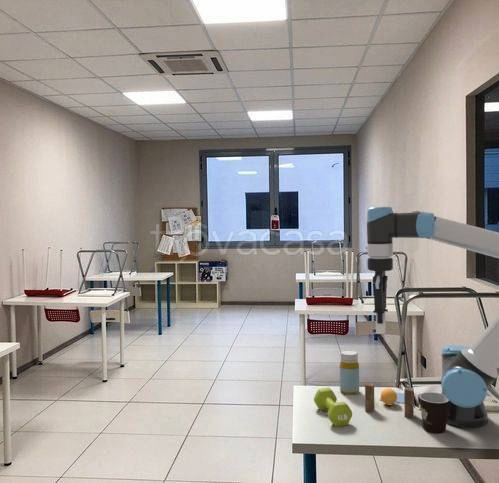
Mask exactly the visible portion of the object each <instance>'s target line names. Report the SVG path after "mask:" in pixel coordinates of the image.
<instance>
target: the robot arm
mask: <svg viewBox="0 0 499 483" xmlns="http://www.w3.org/2000/svg"><path fill="white" fill-rule="evenodd" d="M366 216H367V217H366V237H367V241H366V242H367V246H365V250H367V256H368V257H367V259H366V260H367V261H366V262H367V270H368V271H371V272H374V276H372V288H373V303H374V310H372V311H373V312H372V313H374V314H375V334H379V335H380V334H381V335H385V334H386V333H387V331H386V330H387V328H386V326H387V324H386V312H387V313H388V310H389V309H387V288H388V285H387V284H388V277H389V276H388V275H387V274H386V272H390V271H392V270H393V268H394V263H393V262H394V260H393V258H392V257H393V256H394V244H393V243H394V241H393V239H394V238H395V239H398V238H399V239H400V238H401V239H402V238H403V239H405V238H406V239H407V238H408V239H409V238H410V239H415V238H416V239H418V238H419V239H429V240H432V241H435V242H439V243H442V244H446V245H450V246H452V247H453V246H454V247H456V248H460V249H464V250H467V251H470V252H474V253H478V254H481V255H484V256H489V257H492V258H497V259H499V232H497V231H493V230H491V229H487V228H482V227H478V226H474V225H470V224H466V223H464V222H459V221H455V220H451V219H448V218H443V217H441V216H437V215H436V216H435V214H434V213H433V212H430V211H429V212H425V211H419V210H416V211H411V212H394V211H393V208H392V206H371V207H369V208H368V209H367V214H366ZM440 354H441V380H440V384H441V394H444V395H445V396H446V397H447V399H448V400H449V407H448V415H447V423H446V424H448V425H450V426H451V425H452V426H454V427H455V426H456V427H460V428H469V429H470V428H471V429H472V428H479V427H483V426H486V424H487V423H488V419H489V416H488V411H487V408H486V406H485V403H484V401H485V399H486V397H487V394H488V389H489V388H490V387H491V386H492V385H493V383H494V382H495V381H496V380H497V379H498V377H499V374H498V373H499V372H498V368H499V313H497V315H496V316H495V317H494V318H493V319H492V321H491V322H490V323H489V325H488V326H487V327H486V328H485V330H484V331H483V332H482V333H481V335H480V336H478V338H477V339H476V340H475V342H474V343H473V344H472V345H471V346H467V345H446V346H443V347H442V349H441V353H440Z"/></svg>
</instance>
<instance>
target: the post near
mask: <svg viewBox="0 0 499 483" xmlns="http://www.w3.org/2000/svg"><path fill="white" fill-rule="evenodd" d="M403 389H404V392H403V393H404V405H403V406H404V417H405V418H409V419H410V418H411V419H413V418H414V415H415V413H414V412H415V411H414V408H415V407H414V404H415V403H414V397H415V396H414V390H415V389H414V387H408V386H405V387H404V388H403Z"/></svg>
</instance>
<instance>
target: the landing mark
mask: <svg viewBox="0 0 499 483" xmlns="http://www.w3.org/2000/svg"><path fill="white" fill-rule="evenodd" d="M395 392H396V391H395ZM396 394H397V400H396V402H395V403H394V404H396V403H397V404H404V392H396ZM379 401H381V402H383V401H382V400H381V397H380V398H379Z"/></svg>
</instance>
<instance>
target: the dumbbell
mask: <svg viewBox="0 0 499 483" xmlns="http://www.w3.org/2000/svg"><path fill="white" fill-rule="evenodd" d="M313 402H314V404H315V406H316V407H317V409H319V410H320V411H321V412H322V411H328V412H327V417H328V418H329V421H330V422H331V424H332V425H333V426H334V427H345V426H348V424H349V423H350V421H351V419H352V417H353V411H352V409H351V408H350V406H349V405H348V404H347V403H346V402H345V401H338V398H337V396H336V394H335V393H334V391H333V390H332V388H330V387H323V388H319V389H317V391H316V393H315V395H314V397H313Z"/></svg>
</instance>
